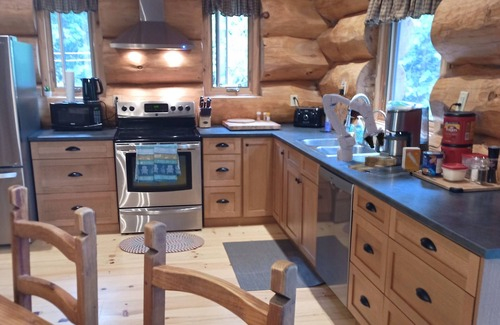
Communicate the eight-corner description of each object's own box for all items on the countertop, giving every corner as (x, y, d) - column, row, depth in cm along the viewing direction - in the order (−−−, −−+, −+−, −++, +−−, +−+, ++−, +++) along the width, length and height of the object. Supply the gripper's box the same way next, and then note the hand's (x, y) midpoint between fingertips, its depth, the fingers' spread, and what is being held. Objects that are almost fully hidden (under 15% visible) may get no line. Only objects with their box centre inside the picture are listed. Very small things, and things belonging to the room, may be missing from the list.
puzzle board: (348, 168, 258) (348, 159, 257) (378, 163, 271) (379, 155, 270) (364, 172, 247) (365, 163, 246) (395, 167, 260) (396, 158, 259)
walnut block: (364, 168, 258) (365, 156, 257) (369, 167, 261) (370, 156, 259) (369, 169, 255) (370, 158, 254) (374, 168, 257) (375, 157, 256)
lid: (372, 157, 263) (372, 152, 263) (380, 155, 267) (380, 151, 266) (382, 159, 256) (382, 154, 256) (391, 158, 260) (391, 153, 259)
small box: (404, 172, 247) (405, 148, 245) (401, 169, 254) (402, 146, 251) (419, 172, 247) (420, 149, 244) (416, 169, 253) (417, 146, 250)
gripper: (366, 124, 250) (373, 148, 249) (384, 120, 258) (391, 143, 257) (357, 128, 256) (365, 150, 255) (375, 124, 264) (382, 146, 263)
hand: (377, 147), depth 256 cm, fingers open, 7 cm apart
